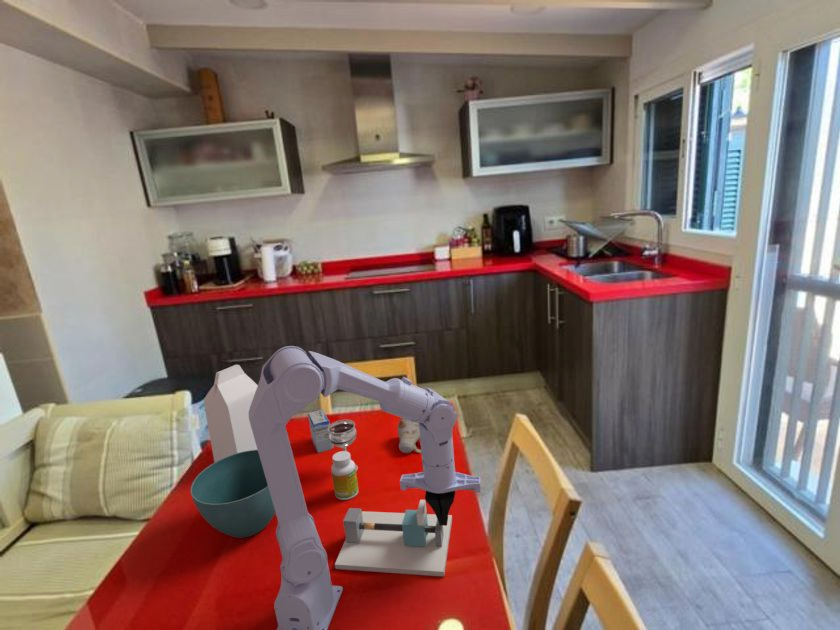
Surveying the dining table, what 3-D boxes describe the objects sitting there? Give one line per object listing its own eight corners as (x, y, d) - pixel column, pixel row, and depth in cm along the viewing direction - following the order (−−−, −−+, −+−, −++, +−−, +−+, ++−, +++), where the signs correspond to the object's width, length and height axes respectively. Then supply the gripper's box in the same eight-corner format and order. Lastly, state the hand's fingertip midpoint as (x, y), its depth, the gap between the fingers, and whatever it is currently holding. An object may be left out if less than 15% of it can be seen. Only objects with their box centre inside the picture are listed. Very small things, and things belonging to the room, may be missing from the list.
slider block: (425, 546, 82) (421, 514, 80) (404, 545, 82) (400, 513, 81) (428, 530, 85) (425, 499, 84) (408, 529, 86) (404, 499, 84)
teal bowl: (311, 511, 96) (302, 462, 93) (237, 571, 82) (224, 515, 79) (260, 487, 106) (250, 442, 103) (186, 536, 92) (172, 486, 89)
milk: (242, 475, 112) (220, 381, 105) (214, 464, 118) (193, 374, 111) (279, 451, 121) (261, 363, 115) (252, 442, 128) (234, 358, 121)
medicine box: (312, 440, 125) (307, 413, 123) (327, 435, 127) (323, 408, 125) (317, 453, 118) (313, 424, 116) (334, 448, 120) (329, 420, 118)
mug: (392, 458, 113) (386, 419, 116) (407, 454, 122) (401, 418, 125) (419, 453, 111) (412, 414, 114) (432, 450, 120) (425, 413, 123)
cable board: (444, 576, 77) (441, 548, 75) (335, 568, 80) (330, 541, 79) (452, 519, 90) (449, 494, 88) (358, 515, 94) (355, 490, 92)
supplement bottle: (354, 501, 98) (348, 463, 96) (331, 500, 99) (325, 462, 97) (361, 486, 103) (356, 449, 101) (340, 484, 104) (334, 448, 102)
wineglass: (364, 472, 108) (358, 428, 105) (337, 481, 106) (330, 436, 103) (357, 458, 114) (351, 417, 111) (331, 466, 112) (325, 424, 109)
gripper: (479, 445, 81) (483, 508, 84) (402, 444, 84) (409, 505, 87) (478, 468, 74) (482, 535, 78) (394, 466, 77) (402, 531, 80)
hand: (443, 521), depth 82 cm, fingers closed
